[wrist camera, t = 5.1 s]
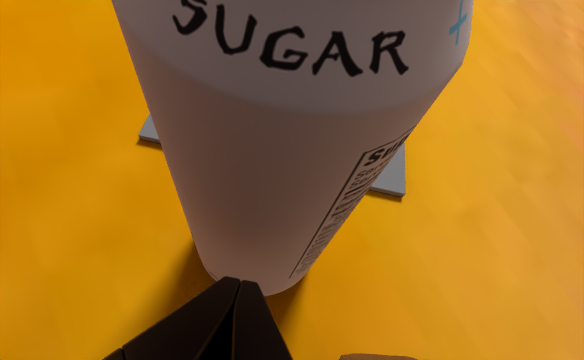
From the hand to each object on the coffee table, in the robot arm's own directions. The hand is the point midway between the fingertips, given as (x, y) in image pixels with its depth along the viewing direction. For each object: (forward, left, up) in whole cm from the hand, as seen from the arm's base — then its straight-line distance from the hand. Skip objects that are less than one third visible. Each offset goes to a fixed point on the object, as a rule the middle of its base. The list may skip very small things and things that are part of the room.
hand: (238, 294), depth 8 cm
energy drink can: (+2, +4, -8) cm, 9 cm away
